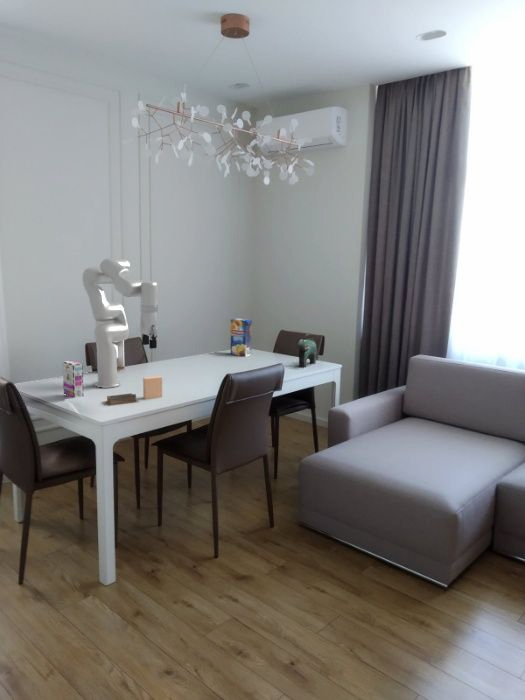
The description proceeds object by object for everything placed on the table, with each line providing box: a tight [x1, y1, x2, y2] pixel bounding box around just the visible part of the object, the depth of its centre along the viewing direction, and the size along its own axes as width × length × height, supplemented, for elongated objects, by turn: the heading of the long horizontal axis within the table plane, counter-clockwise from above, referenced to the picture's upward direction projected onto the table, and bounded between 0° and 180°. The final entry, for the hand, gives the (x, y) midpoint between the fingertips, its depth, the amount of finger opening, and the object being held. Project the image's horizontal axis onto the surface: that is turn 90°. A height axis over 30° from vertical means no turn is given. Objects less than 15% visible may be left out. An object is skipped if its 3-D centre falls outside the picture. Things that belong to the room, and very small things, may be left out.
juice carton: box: [230, 318, 253, 357], centre depth 368 cm, size 12×8×24 cm, turn 60°
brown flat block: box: [103, 393, 140, 407], centre depth 245 cm, size 8×14×4 cm, turn 121°
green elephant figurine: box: [297, 333, 318, 369], centre depth 339 cm, size 20×6×20 cm, turn 148°
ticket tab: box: [142, 375, 163, 400], centre depth 253 cm, size 3×8×10 cm, turn 121°
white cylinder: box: [94, 319, 125, 374], centre depth 308 cm, size 11×11×35 cm
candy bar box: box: [62, 359, 84, 399], centre depth 254 cm, size 11×5×16 cm, turn 45°
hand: (149, 346), depth 250 cm, fingers open, 9 cm apart
